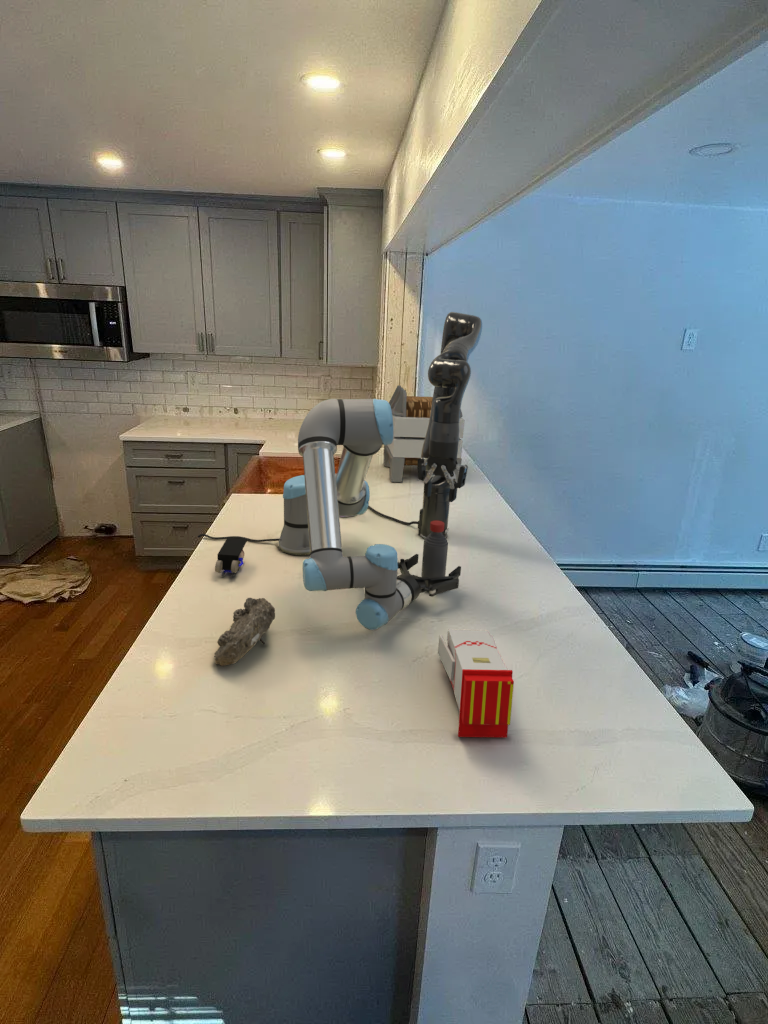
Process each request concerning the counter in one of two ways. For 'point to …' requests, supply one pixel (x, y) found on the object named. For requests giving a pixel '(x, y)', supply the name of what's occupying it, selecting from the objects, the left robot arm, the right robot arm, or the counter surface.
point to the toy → (478, 682)
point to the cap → (437, 526)
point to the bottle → (434, 555)
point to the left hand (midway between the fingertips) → (437, 564)
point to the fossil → (245, 630)
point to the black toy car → (230, 556)
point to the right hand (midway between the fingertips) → (439, 498)
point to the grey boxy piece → (410, 432)
